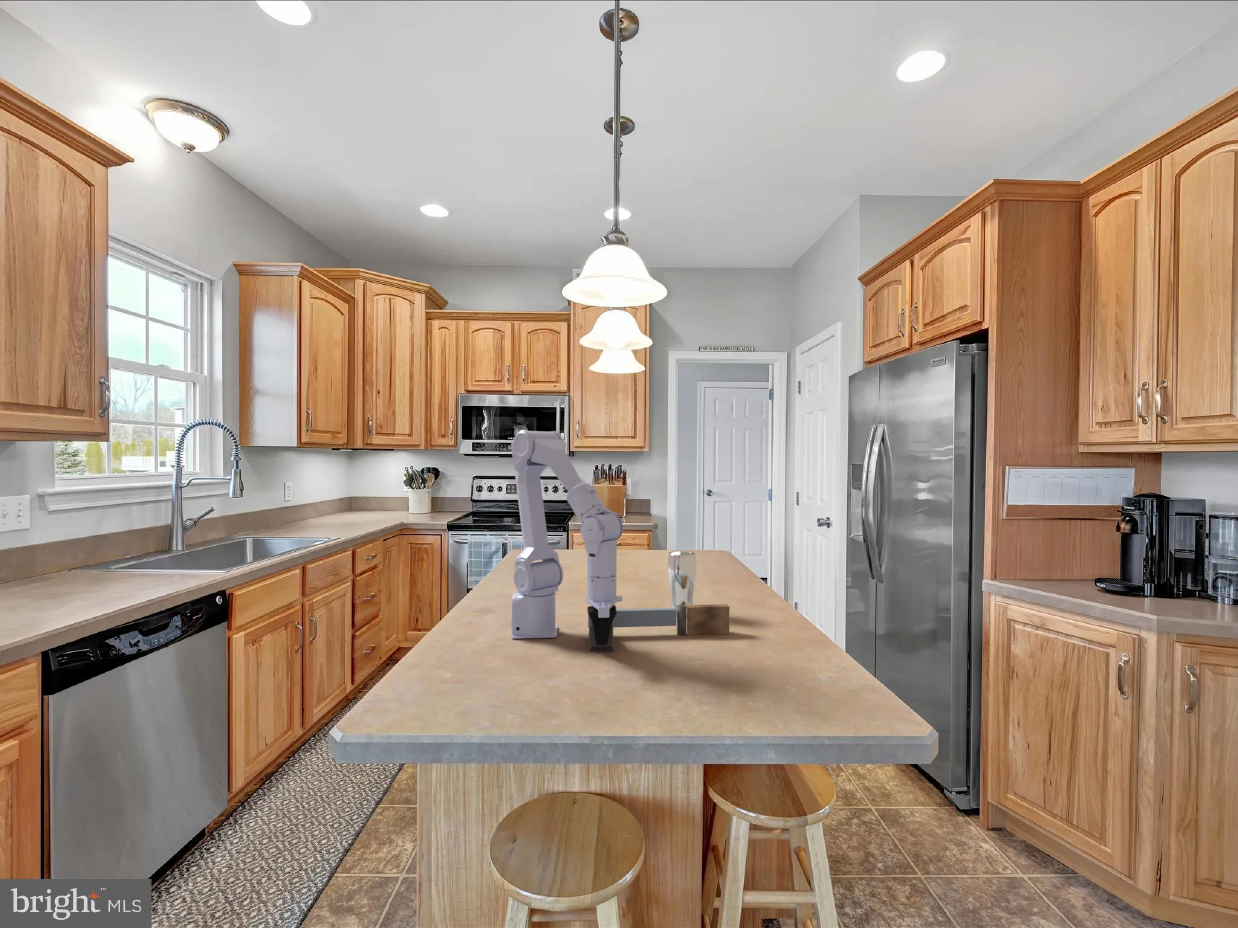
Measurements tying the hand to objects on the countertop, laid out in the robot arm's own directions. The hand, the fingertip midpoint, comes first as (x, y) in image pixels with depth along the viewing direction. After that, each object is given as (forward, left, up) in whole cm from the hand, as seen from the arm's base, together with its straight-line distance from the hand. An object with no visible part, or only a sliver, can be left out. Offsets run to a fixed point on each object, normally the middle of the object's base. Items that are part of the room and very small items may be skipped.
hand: (601, 644), depth 112 cm
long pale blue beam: (+7, +11, 0) cm, 13 cm away
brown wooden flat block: (+23, +11, -2) cm, 25 cm away
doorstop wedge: (0, +6, -2) cm, 7 cm away
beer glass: (+21, +26, -2) cm, 33 cm away
